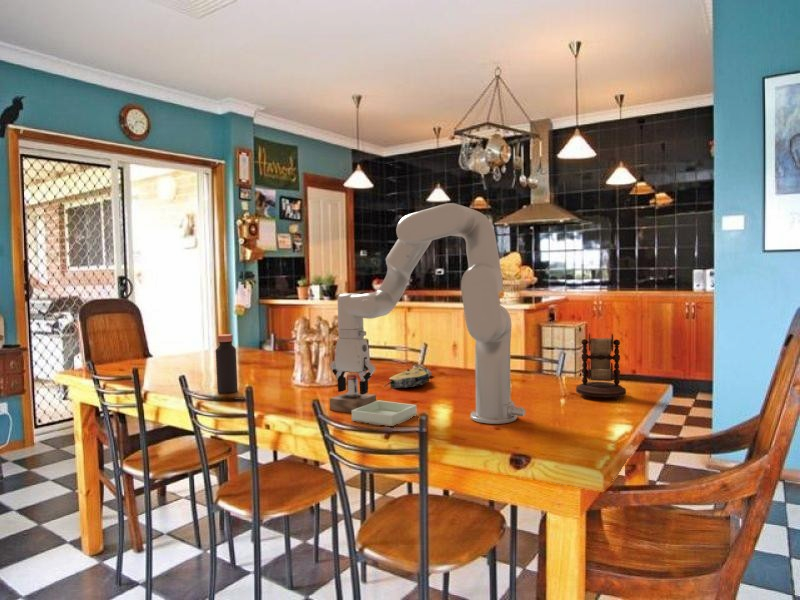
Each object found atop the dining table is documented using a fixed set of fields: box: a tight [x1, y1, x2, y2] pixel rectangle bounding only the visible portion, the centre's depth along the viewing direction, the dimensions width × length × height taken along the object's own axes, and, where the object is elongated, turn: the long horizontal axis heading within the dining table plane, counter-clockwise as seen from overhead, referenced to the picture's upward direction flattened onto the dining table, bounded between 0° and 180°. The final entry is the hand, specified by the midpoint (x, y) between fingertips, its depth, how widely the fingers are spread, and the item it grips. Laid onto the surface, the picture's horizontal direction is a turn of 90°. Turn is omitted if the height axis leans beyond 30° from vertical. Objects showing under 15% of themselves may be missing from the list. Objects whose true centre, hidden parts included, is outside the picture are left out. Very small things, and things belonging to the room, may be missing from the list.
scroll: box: [575, 332, 627, 402], centre depth 179 cm, size 15×15×20 cm
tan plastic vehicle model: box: [383, 364, 432, 389], centre depth 208 cm, size 14×6×30 cm
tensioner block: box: [329, 391, 377, 414], centre depth 172 cm, size 10×10×4 cm
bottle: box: [215, 333, 239, 394], centre depth 199 cm, size 7×7×20 cm
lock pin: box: [346, 373, 359, 399], centre depth 172 cm, size 3×3×10 cm
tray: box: [351, 399, 418, 427], centre depth 160 cm, size 13×13×3 cm
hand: (352, 392), depth 172 cm, fingers open, 7 cm apart
